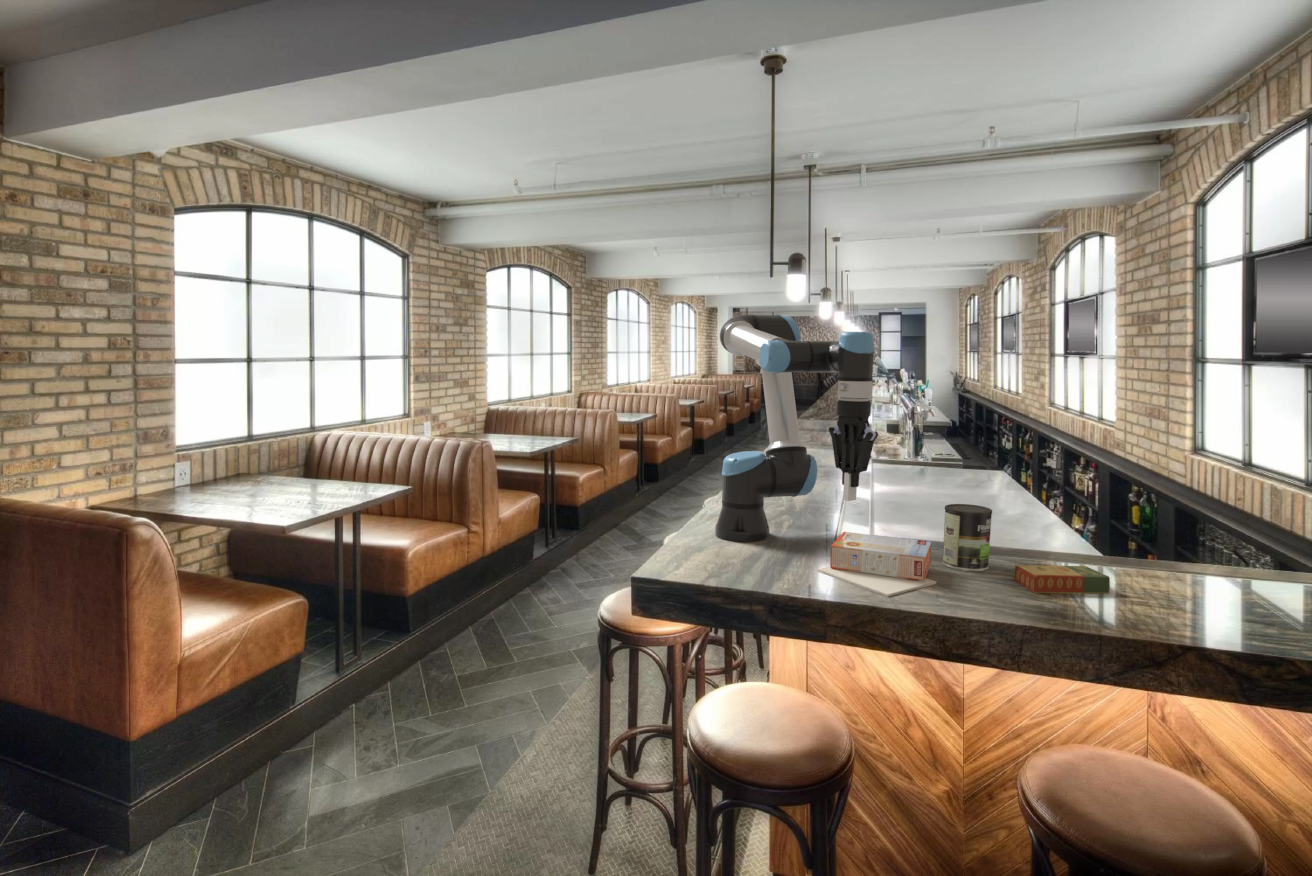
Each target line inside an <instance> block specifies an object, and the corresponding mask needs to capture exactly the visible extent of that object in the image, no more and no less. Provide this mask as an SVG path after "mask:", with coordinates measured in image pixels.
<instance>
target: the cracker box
mask: <svg viewBox="0 0 1312 876" xmlns="http://www.w3.org/2000/svg"><path fill="white" fill-rule="evenodd" d="M932 546H933V544H932V541H929V540H928V541H927V540H921V539H920V540H919V539H911V538H902V537H892V536H886V535H885V536H884V535H875V534H874V535H873V534H867V533H866V534H865V533H857V532H848V531H843V532H841V534H840V535H839V536H838V537H837V539H836V540H835V541H834V542H833V543H832V544H831V545H830V559H829V560H830V565H829V567H831V568H834V569H841V570H848V571H855V572H862V573H869V574H877V575H884V576H891V577H898V578H905V579H912V580H919V581H924V580H925V578H926V577H927V574H928V571H929V569H930V566H931V563H932Z"/></svg>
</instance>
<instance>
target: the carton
mask: <svg viewBox="0 0 1312 876" xmlns="http://www.w3.org/2000/svg"><path fill="white" fill-rule="evenodd" d="M1013 573H1014V574H1013V576H1014V577H1013V581H1014V582H1015V581H1016V582H1015V583H1016V584H1018V583H1019V585H1020V584H1021V585H1022V587H1023V588H1025V587H1026V588H1027V589H1026V588H1025V589H1026V590H1028V591H1029V590H1030V591H1029V592H1031V593H1033V594H1081V595H1082V594H1087V595H1088V594H1089V595H1090V594H1093V595H1098V594H1099V595H1104V594H1105V595H1109V594H1110V589H1111V586H1110V585H1111V578H1110V576H1109V575H1106V574H1104V573H1102V572H1100V571H1097V570H1095V569H1093V568H1091V567H1089V566H1086V565H1046V564H1044V565H1040V564H1039V565H1038V564H1037V565H1034V564H1032V565H1031V564H1015V567H1014V572H1013ZM1021 585H1020V586H1021Z"/></svg>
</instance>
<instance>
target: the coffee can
mask: <svg viewBox="0 0 1312 876" xmlns="http://www.w3.org/2000/svg"><path fill="white" fill-rule="evenodd" d="M992 515H993V509H991V508H989V507H986V506H982V505H975V504H966V503H951V504H946V505H944V525H943V526H944V527H943V544H942V545H943V547H942V549H943V551H942V565H943V566H945V567H948V568H949V569H953V570H957V571H964V572H971V573H972V572H977V573H979V572H985V570H986V571H987V569H988V570H989V568H990V567H989V562H990V561H989V560H990V546H991V545H990V542H991V531H992V529H991V528H992Z"/></svg>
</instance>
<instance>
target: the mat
mask: <svg viewBox="0 0 1312 876" xmlns="http://www.w3.org/2000/svg"><path fill="white" fill-rule="evenodd" d="M816 571H817V572H819V573H821V574H824V575H827V576H829V577H832V578H834V579H837V580H840V581H842V582H843V581H844V582H846V583H849V584H851V585H854V586H857V587H860V588H863V589H865V590H867V591H870V592H873V593H876V594H879V595H881V596H884V597H892V596H896V595H900V594H903V593H907V592H910V591H914V590H919V589H921V588H926V587H930V586H933V585H937V581H936V580H933V579H929V578H925V580H924V581H919V580H912V579H905V578H898V577H891V576H884V575H877V574H869V573H862V572H855V571H848V570H841V569H834V568H831V567H830V566H826V567H821V568H818V569H817V570H816Z"/></svg>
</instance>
